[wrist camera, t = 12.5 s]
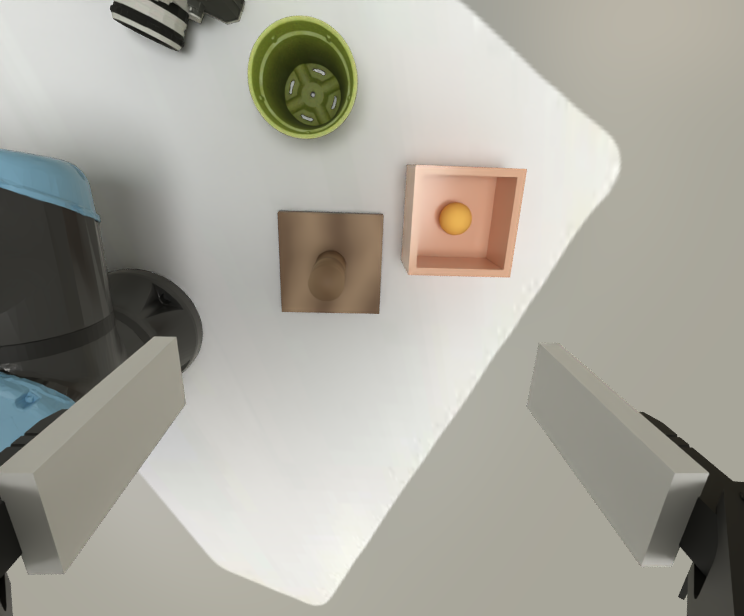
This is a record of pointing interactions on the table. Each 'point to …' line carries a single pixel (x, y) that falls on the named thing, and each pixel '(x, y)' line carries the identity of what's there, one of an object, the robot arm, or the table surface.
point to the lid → (330, 262)
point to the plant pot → (302, 77)
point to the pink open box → (488, 227)
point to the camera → (172, 16)
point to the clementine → (455, 218)
